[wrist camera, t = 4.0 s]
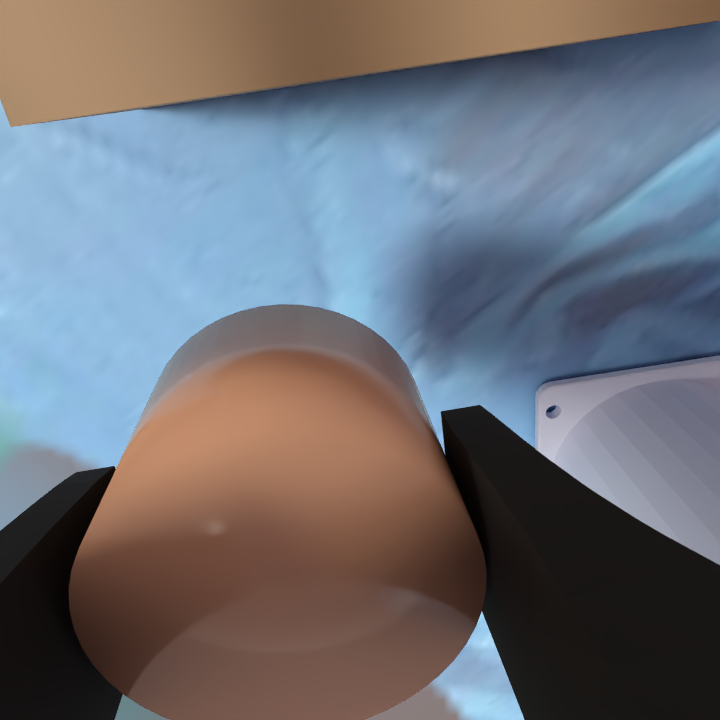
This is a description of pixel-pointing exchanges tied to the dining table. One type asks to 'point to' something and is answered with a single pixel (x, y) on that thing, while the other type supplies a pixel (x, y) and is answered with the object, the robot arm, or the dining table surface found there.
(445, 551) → the tan rounded cylinder
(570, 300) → the dining table surface
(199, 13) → the housing
